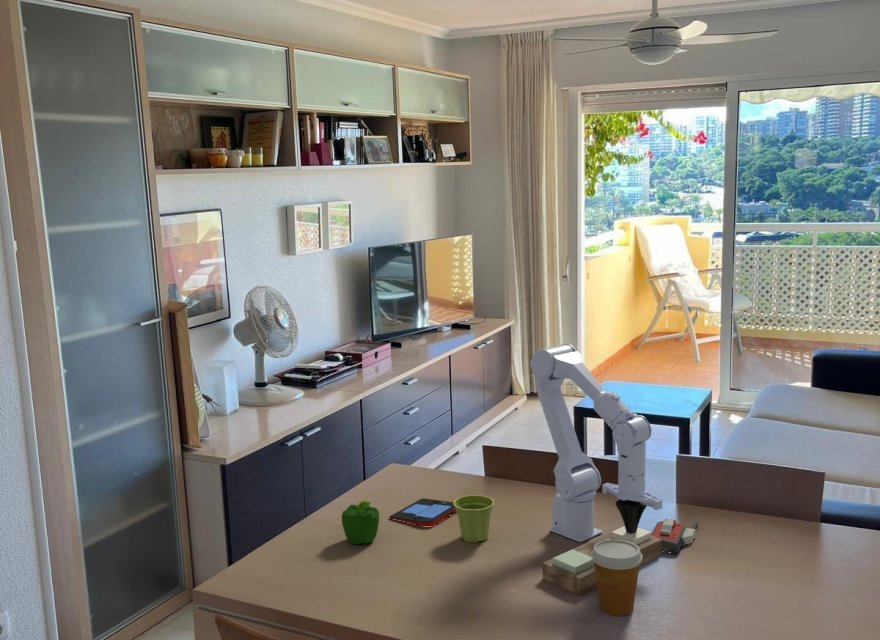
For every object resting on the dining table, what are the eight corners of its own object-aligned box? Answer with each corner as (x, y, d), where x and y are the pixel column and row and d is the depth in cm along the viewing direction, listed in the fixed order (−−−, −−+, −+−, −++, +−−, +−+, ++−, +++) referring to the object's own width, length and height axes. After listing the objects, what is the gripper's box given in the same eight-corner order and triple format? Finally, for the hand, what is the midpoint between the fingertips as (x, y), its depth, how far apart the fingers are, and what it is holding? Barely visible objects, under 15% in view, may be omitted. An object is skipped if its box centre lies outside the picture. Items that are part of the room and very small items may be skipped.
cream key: (611, 544, 188) (611, 531, 188) (628, 537, 192) (628, 524, 192) (634, 553, 184) (634, 539, 183) (651, 545, 188) (651, 532, 187)
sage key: (553, 571, 176) (552, 558, 176) (572, 562, 180) (572, 549, 180) (575, 581, 172) (575, 567, 171) (594, 572, 176) (594, 558, 175)
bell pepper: (336, 540, 199) (334, 499, 198) (364, 530, 205) (363, 490, 203) (357, 551, 193) (355, 509, 191) (386, 541, 198) (384, 499, 197)
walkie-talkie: (686, 560, 185) (701, 526, 203) (686, 540, 184) (701, 508, 202) (645, 553, 189) (663, 520, 207) (645, 534, 188) (663, 503, 206)
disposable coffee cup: (585, 597, 169) (585, 540, 167) (633, 594, 170) (633, 537, 168) (598, 622, 159) (598, 561, 158) (648, 618, 160) (649, 557, 158)
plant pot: (448, 543, 196) (447, 507, 195) (462, 527, 205) (461, 492, 203) (487, 548, 193) (486, 511, 191) (500, 532, 201) (499, 497, 200)
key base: (542, 578, 177) (542, 562, 177) (624, 540, 195) (624, 526, 194) (580, 595, 170) (580, 578, 169) (661, 554, 187) (661, 539, 187)
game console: (421, 502, 223) (421, 494, 223) (462, 511, 216) (462, 503, 216) (387, 520, 212) (387, 512, 211) (429, 531, 204) (429, 522, 204)
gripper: (593, 468, 188) (593, 527, 190) (648, 485, 177) (647, 547, 179) (613, 461, 193) (613, 519, 195) (668, 477, 182) (667, 537, 184)
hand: (631, 532), depth 188 cm, fingers closed, pressing on cream key
